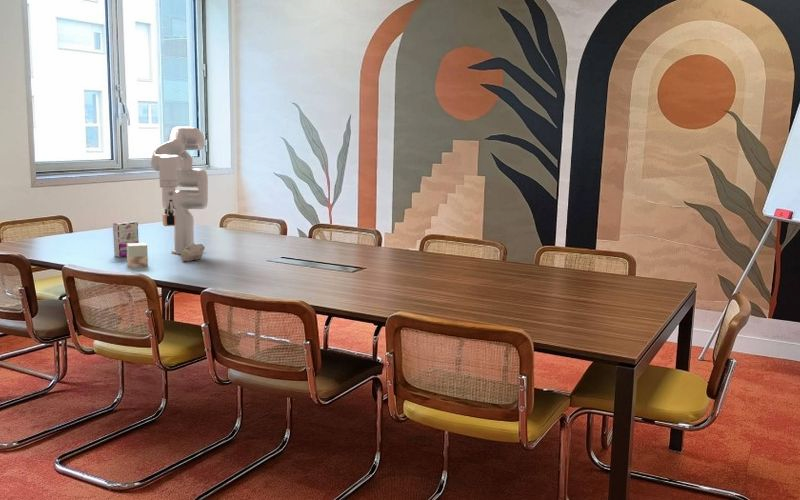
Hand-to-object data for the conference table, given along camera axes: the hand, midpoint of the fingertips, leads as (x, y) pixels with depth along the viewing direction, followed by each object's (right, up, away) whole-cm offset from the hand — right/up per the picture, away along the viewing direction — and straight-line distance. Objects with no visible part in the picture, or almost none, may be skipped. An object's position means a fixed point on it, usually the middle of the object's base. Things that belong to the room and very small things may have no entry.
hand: (169, 223), depth 354 cm
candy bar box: (-30, -15, +30) cm, 45 cm away
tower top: (-16, -14, +5) cm, 22 cm away
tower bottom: (-17, -19, +6) cm, 26 cm away
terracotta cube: (0, -1, 0) cm, 1 cm away
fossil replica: (+4, -17, +22) cm, 28 cm away
